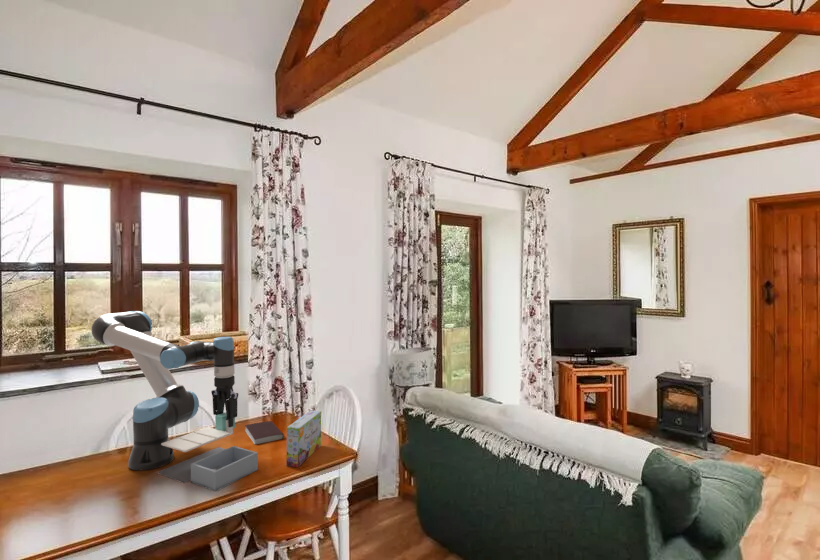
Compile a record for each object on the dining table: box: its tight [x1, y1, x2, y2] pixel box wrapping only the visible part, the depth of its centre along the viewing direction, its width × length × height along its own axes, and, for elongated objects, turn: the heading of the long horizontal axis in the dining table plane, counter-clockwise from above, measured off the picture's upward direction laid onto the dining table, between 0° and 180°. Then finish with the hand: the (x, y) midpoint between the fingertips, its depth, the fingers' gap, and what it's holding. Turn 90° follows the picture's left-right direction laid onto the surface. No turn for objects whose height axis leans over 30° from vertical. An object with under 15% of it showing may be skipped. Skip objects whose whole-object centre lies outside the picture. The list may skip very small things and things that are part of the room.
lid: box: [161, 411, 236, 453], centre depth 167 cm, size 14×25×6 cm, turn 151°
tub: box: [190, 445, 259, 492], centre depth 157 cm, size 13×18×6 cm
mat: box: [156, 446, 226, 484], centre depth 167 cm, size 16×26×1 cm, turn 151°
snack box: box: [285, 410, 322, 468], centre depth 174 cm, size 21×6×15 cm, turn 168°
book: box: [244, 420, 285, 446], centre depth 197 cm, size 12×19×3 cm, turn 32°
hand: (225, 433), depth 176 cm, fingers closed on lid, 4 cm apart
